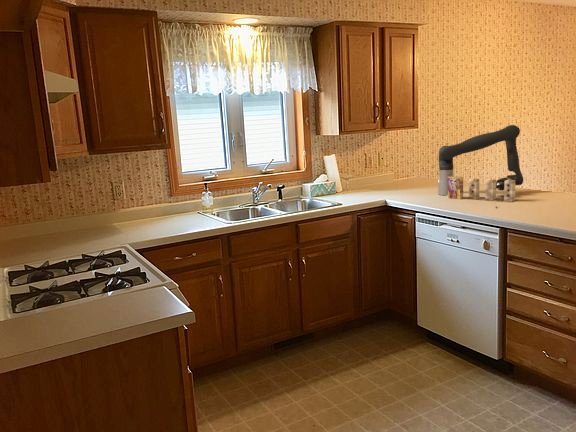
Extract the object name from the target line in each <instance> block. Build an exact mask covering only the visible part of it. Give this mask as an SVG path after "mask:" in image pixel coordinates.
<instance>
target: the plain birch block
mask: <svg viewBox="0 0 576 432" xmlns="http://www.w3.org/2000/svg"><path fill="white" fill-rule="evenodd" d="M496 181H497V179H495V178H488V179H485V189H484V190H485V191H484V193H485V196H484V197H485V200H494V199H496V198H497V189H496Z"/></svg>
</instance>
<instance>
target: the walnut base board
mask: <svg viewBox="0 0 576 432" xmlns="http://www.w3.org/2000/svg"><path fill="white" fill-rule="evenodd" d="M464 200H472V201H473V200H474V201H488V202H498V203H499V202H501V203H515V202H517V201H518V202H519V199H516V198H515V200H514V201H504V198H499V197H498V198H497V197H496V199H494V200H485V196H479V198H477V199H472V198H469V197H466V198H464Z"/></svg>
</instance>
